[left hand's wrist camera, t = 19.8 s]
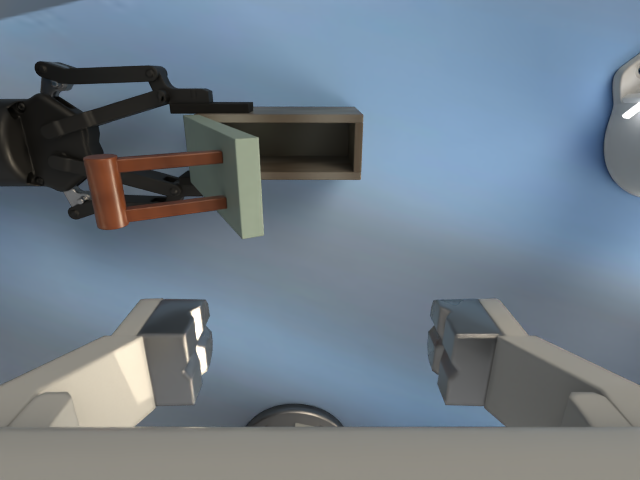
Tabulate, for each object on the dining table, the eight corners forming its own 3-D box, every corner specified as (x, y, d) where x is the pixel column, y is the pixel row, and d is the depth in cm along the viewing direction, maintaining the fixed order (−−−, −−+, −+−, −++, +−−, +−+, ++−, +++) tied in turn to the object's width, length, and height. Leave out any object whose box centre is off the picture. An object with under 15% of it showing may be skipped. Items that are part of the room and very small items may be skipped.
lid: (259, 137, 21) (76, 149, 18) (264, 235, 23) (101, 263, 20) (199, 114, 33) (83, 119, 30) (206, 180, 35) (98, 192, 32)
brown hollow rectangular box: (355, 106, 42) (363, 114, 34) (353, 160, 44) (360, 180, 36) (218, 106, 42) (193, 114, 34) (222, 160, 44) (200, 179, 36)
